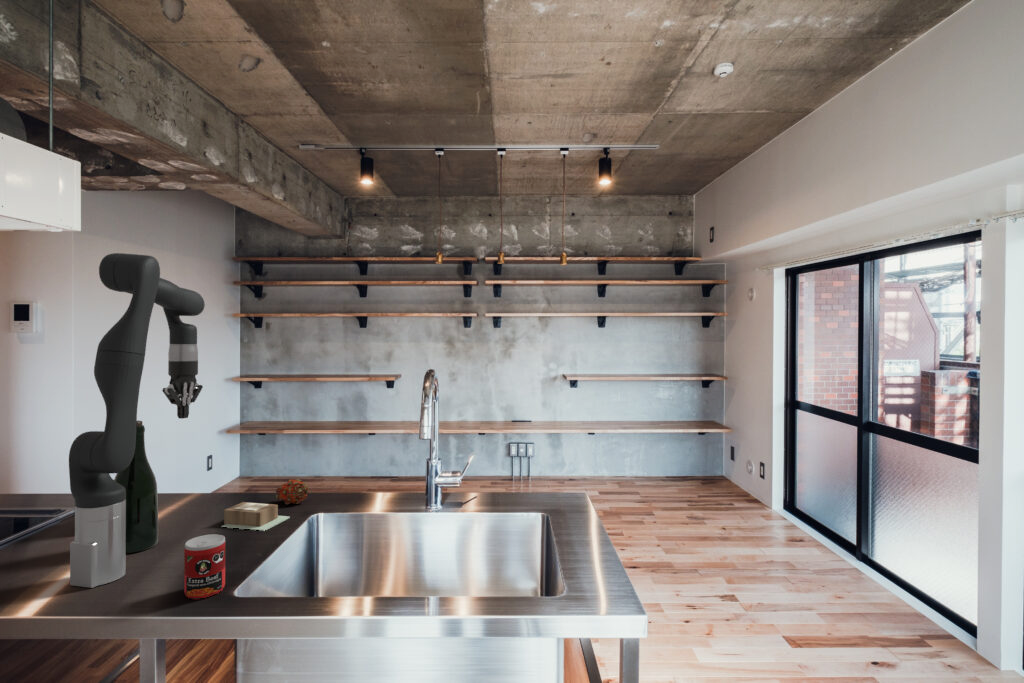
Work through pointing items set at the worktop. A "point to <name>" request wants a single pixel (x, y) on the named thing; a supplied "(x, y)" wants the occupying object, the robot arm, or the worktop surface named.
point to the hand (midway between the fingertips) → (183, 418)
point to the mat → (262, 528)
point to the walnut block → (251, 514)
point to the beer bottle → (140, 498)
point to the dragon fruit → (292, 487)
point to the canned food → (204, 566)
